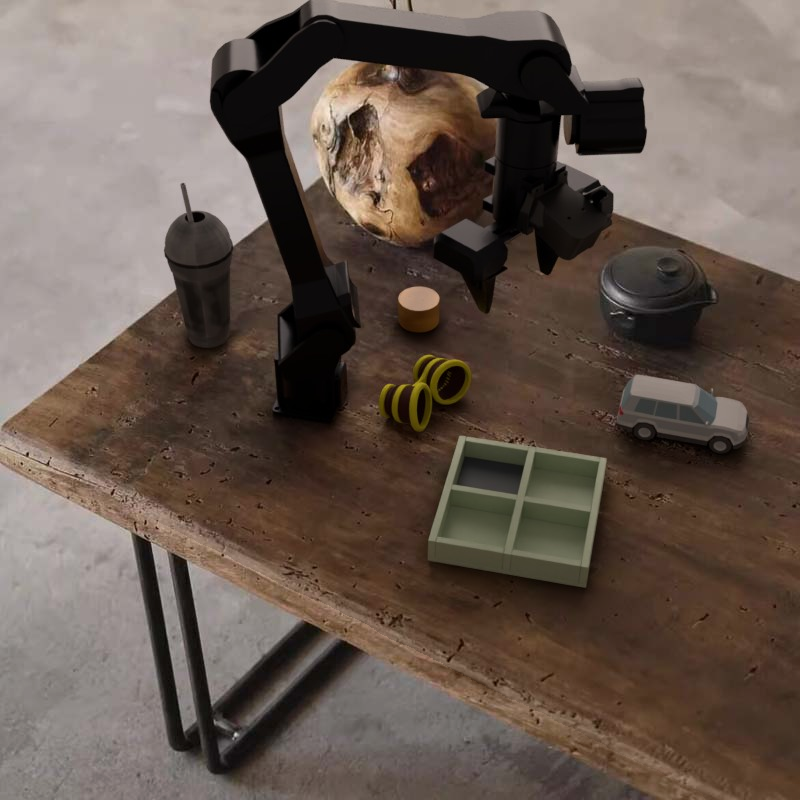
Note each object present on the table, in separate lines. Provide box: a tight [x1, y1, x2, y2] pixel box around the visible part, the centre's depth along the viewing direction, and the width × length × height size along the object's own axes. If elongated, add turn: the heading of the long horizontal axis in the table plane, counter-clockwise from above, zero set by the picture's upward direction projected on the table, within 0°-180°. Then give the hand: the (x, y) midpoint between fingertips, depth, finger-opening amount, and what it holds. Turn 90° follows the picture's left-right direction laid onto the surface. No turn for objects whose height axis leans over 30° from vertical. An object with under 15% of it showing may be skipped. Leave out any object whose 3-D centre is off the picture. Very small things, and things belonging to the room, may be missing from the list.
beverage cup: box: [163, 182, 234, 349], centre depth 139 cm, size 7×7×20 cm
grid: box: [427, 435, 608, 589], centre depth 124 cm, size 14×14×3 cm
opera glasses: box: [378, 354, 472, 433], centre depth 135 cm, size 10×5×5 cm, turn 141°
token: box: [397, 286, 441, 333], centre depth 147 cm, size 5×5×3 cm
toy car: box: [615, 374, 750, 454], centre depth 132 cm, size 6×13×5 cm, turn 74°
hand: (515, 292), depth 131 cm, fingers open, 9 cm apart
